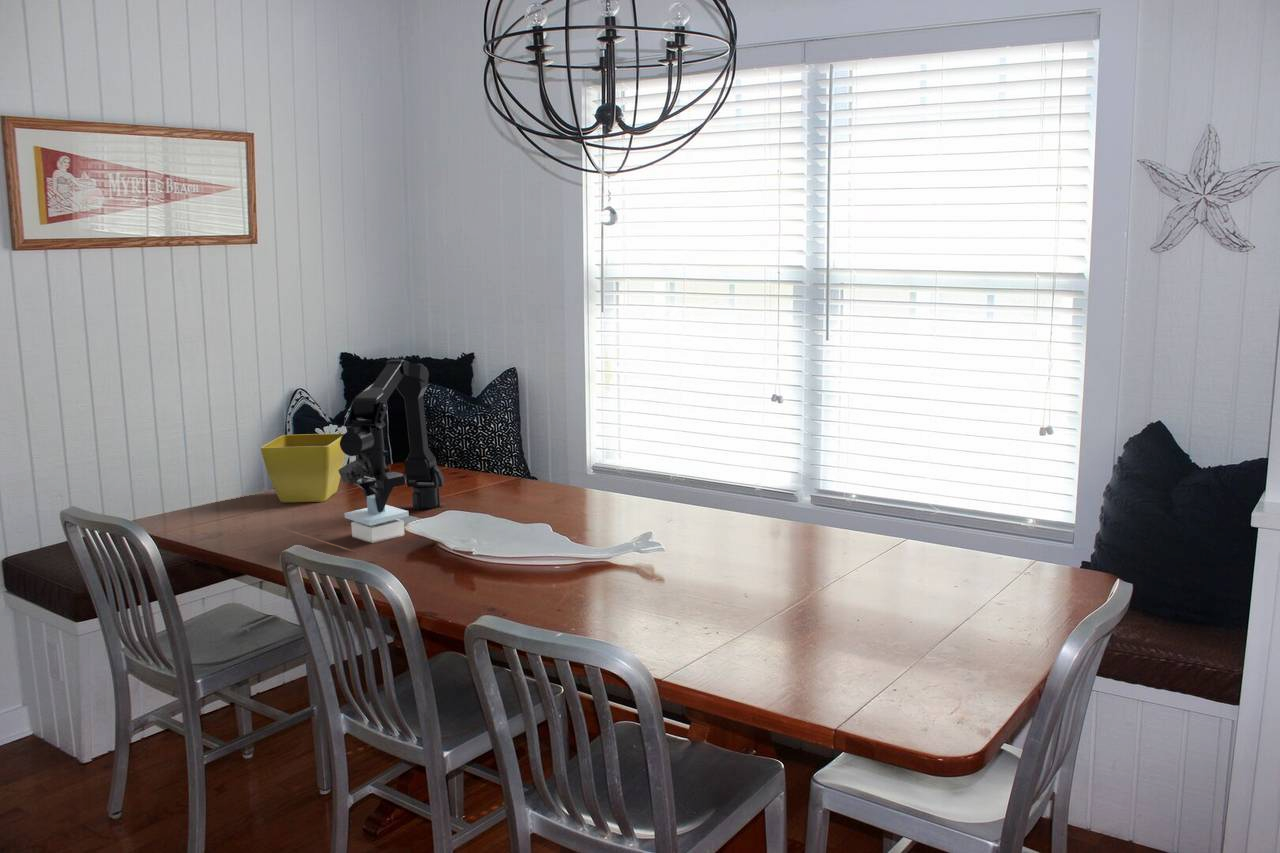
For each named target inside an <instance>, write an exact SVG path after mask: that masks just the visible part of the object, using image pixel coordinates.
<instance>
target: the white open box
mask: <svg viewBox="0 0 1280 853" xmlns="http://www.w3.org/2000/svg"><path fill="white" fill-rule="evenodd" d="M350 523H351V524H350V526H351V536H352V538H354V539H358V540H362V541H363V542H367V543H371V544H374V543H375V544H376V543H379V542H383V541H386V540H390V539H391V540H392V539H394V538H399V537H403V536H405V525H404V521H403V520H399V519H395V520H391V521H387V522H383V523H379V524H375V525H371V526H369V525H366V524H363V523H359V522H356V521H352V522H350Z"/></svg>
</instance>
